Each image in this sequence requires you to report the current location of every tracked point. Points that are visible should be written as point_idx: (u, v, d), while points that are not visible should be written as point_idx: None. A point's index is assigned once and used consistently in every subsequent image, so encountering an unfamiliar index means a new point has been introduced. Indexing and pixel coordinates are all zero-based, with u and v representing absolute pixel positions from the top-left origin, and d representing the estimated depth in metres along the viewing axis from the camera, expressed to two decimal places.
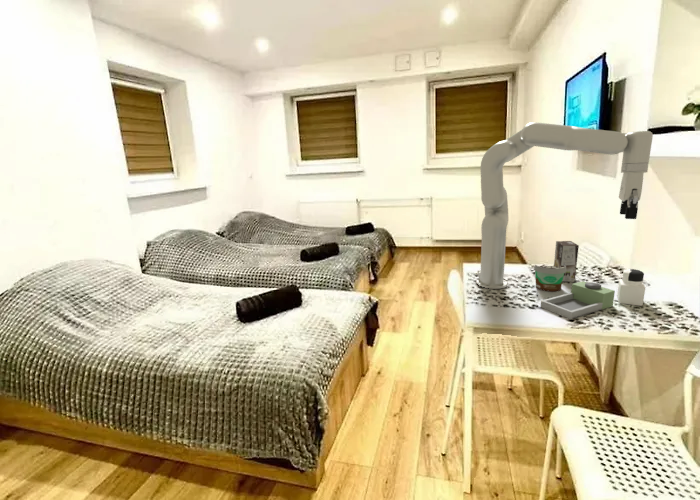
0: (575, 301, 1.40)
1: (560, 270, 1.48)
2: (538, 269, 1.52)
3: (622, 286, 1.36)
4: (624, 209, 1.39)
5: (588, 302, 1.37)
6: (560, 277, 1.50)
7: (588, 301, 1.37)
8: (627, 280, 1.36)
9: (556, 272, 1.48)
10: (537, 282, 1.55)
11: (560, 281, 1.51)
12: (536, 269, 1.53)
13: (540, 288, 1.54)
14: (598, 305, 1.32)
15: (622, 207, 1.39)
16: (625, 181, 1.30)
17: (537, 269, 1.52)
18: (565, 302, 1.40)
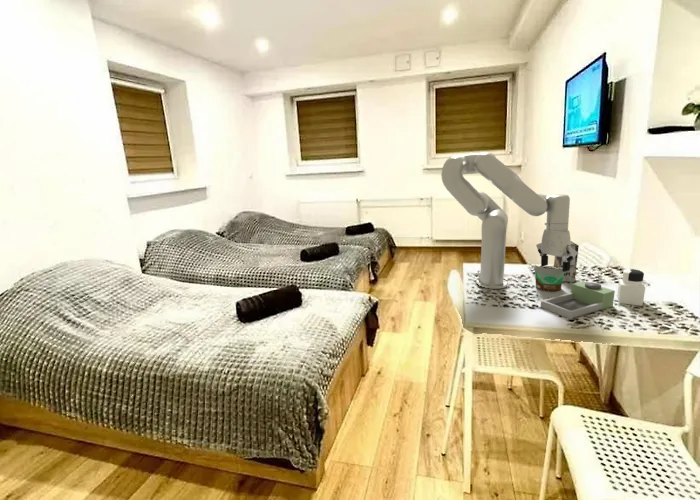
0: (575, 301, 1.40)
1: (560, 270, 1.48)
2: (538, 269, 1.52)
3: (622, 286, 1.36)
4: (544, 261, 1.54)
5: (588, 302, 1.37)
6: (560, 277, 1.50)
7: (588, 301, 1.37)
8: (627, 280, 1.36)
9: (556, 272, 1.48)
10: (537, 282, 1.55)
11: (560, 281, 1.51)
12: (536, 269, 1.53)
13: (540, 288, 1.54)
14: (598, 305, 1.32)
15: (543, 260, 1.53)
16: (559, 239, 1.44)
17: (537, 269, 1.52)
18: (565, 302, 1.40)
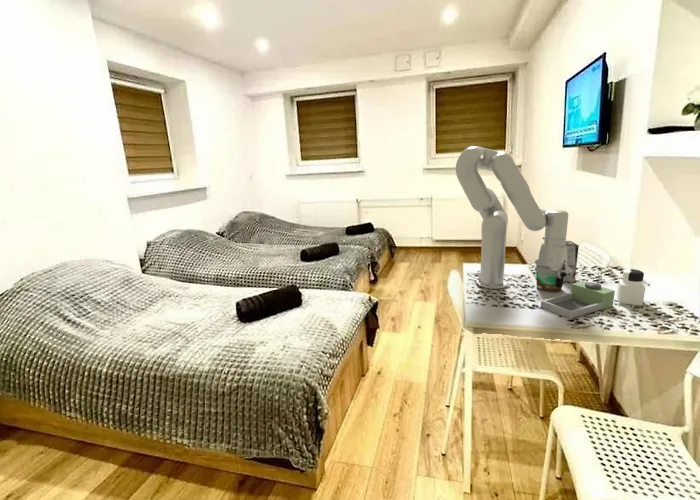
0: (575, 301, 1.40)
1: None
2: (540, 270, 1.51)
3: (622, 286, 1.36)
4: None
5: (588, 302, 1.37)
6: None
7: (588, 301, 1.37)
8: (627, 280, 1.36)
9: None
10: (538, 283, 1.54)
11: None
12: (537, 270, 1.52)
13: (542, 289, 1.53)
14: (598, 305, 1.32)
15: None
16: (556, 254, 1.45)
17: (539, 270, 1.51)
18: (565, 302, 1.40)
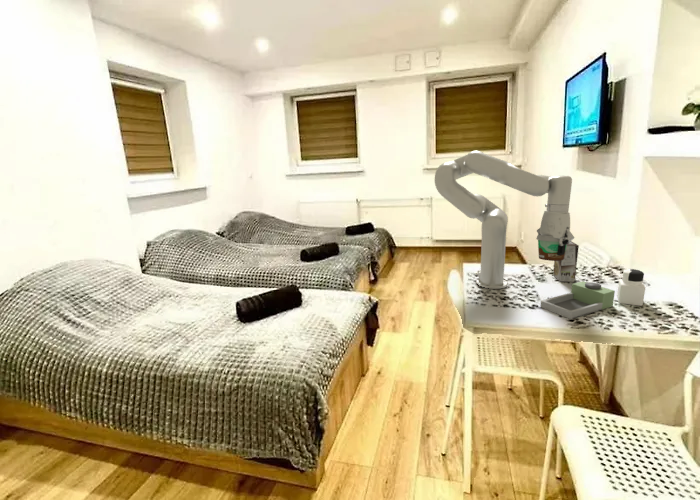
0: (575, 301, 1.40)
1: None
2: (542, 238, 1.48)
3: (622, 286, 1.36)
4: None
5: (588, 302, 1.37)
6: None
7: (588, 301, 1.37)
8: (627, 280, 1.36)
9: None
10: (540, 252, 1.50)
11: None
12: (540, 238, 1.49)
13: (544, 258, 1.49)
14: (598, 305, 1.32)
15: None
16: (559, 221, 1.42)
17: (541, 238, 1.48)
18: (565, 302, 1.40)
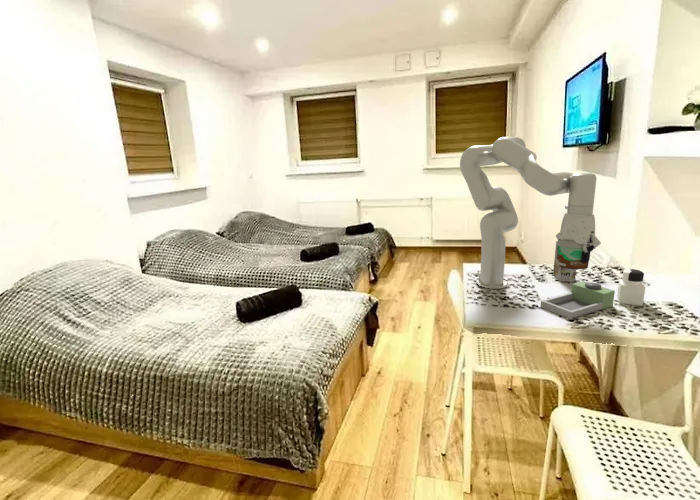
0: (575, 301, 1.40)
1: None
2: (563, 244, 1.31)
3: (622, 286, 1.36)
4: None
5: (588, 302, 1.37)
6: None
7: (588, 301, 1.37)
8: (627, 280, 1.36)
9: None
10: (561, 260, 1.33)
11: None
12: (560, 244, 1.32)
13: (566, 266, 1.32)
14: (598, 305, 1.32)
15: None
16: (583, 224, 1.25)
17: (562, 244, 1.31)
18: (565, 302, 1.40)
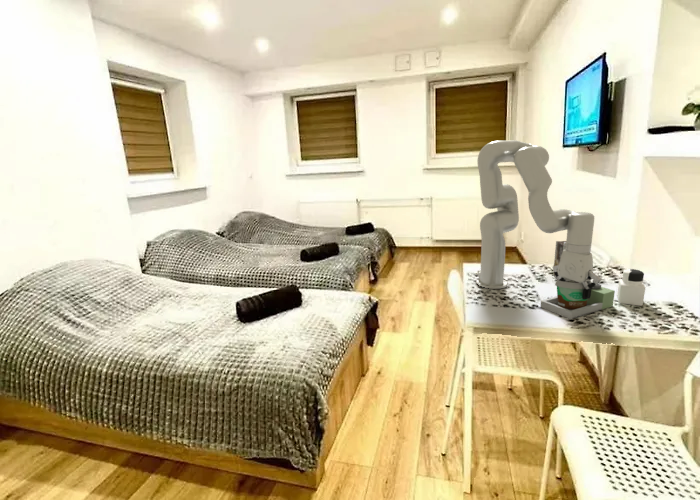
0: None
1: None
2: (562, 284, 1.32)
3: (622, 286, 1.36)
4: None
5: (588, 302, 1.37)
6: None
7: (588, 301, 1.37)
8: (627, 280, 1.36)
9: (584, 287, 1.29)
10: (560, 300, 1.35)
11: None
12: (559, 285, 1.33)
13: (565, 306, 1.34)
14: (598, 305, 1.32)
15: None
16: (580, 263, 1.27)
17: (561, 285, 1.33)
18: None
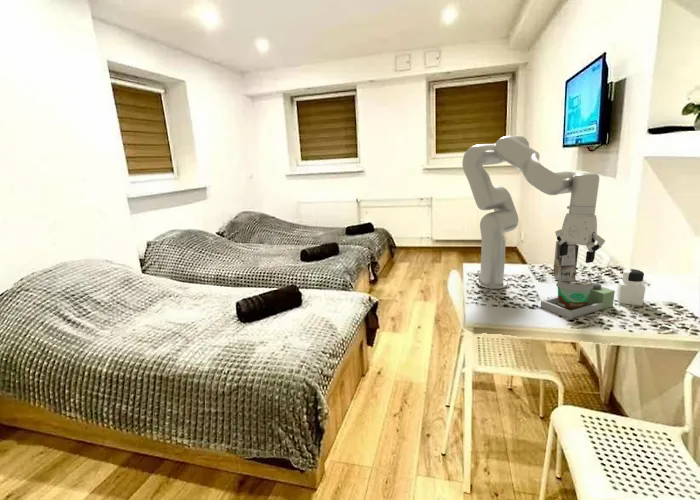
0: None
1: (589, 286, 1.29)
2: (563, 286, 1.32)
3: (622, 286, 1.36)
4: (564, 250, 1.34)
5: (588, 302, 1.37)
6: (588, 294, 1.31)
7: (588, 301, 1.37)
8: (627, 280, 1.36)
9: (585, 289, 1.29)
10: (561, 300, 1.34)
11: (587, 298, 1.32)
12: (560, 286, 1.33)
13: (565, 307, 1.34)
14: (598, 305, 1.32)
15: (563, 249, 1.34)
16: (584, 225, 1.24)
17: (562, 286, 1.32)
18: None
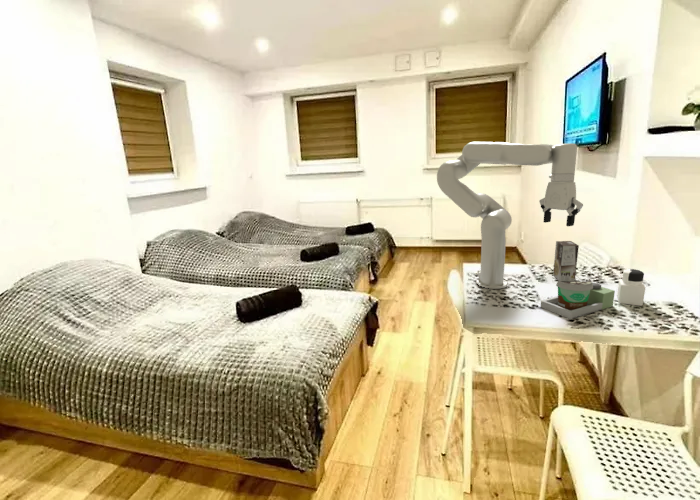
0: None
1: (589, 286, 1.29)
2: (563, 286, 1.32)
3: (622, 286, 1.36)
4: (547, 217, 1.46)
5: (588, 302, 1.37)
6: (588, 294, 1.31)
7: (588, 301, 1.37)
8: (627, 280, 1.36)
9: (585, 289, 1.29)
10: (561, 300, 1.34)
11: (587, 298, 1.32)
12: (560, 286, 1.33)
13: (565, 307, 1.34)
14: (598, 305, 1.32)
15: (546, 216, 1.45)
16: (564, 191, 1.35)
17: (562, 286, 1.32)
18: None
